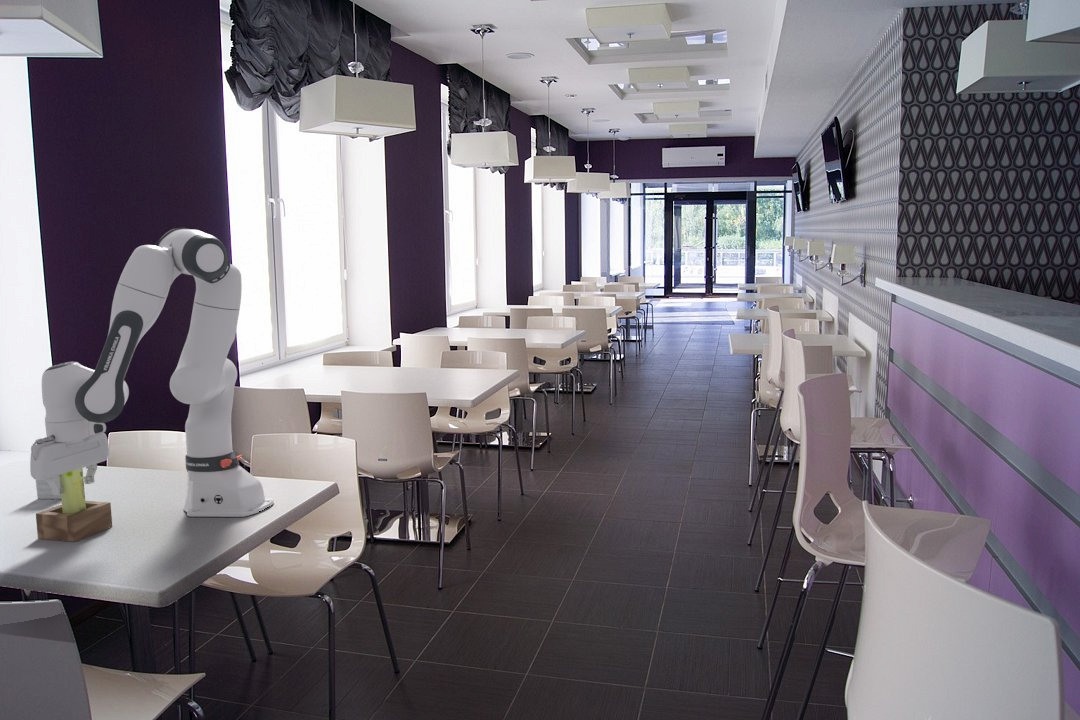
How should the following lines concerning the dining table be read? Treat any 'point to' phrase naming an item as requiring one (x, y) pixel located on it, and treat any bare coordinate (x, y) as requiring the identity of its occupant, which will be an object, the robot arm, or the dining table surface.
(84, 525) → the wooden box
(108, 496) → the dining table surface
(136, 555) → the dining table surface
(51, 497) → the supplement box
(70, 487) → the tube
